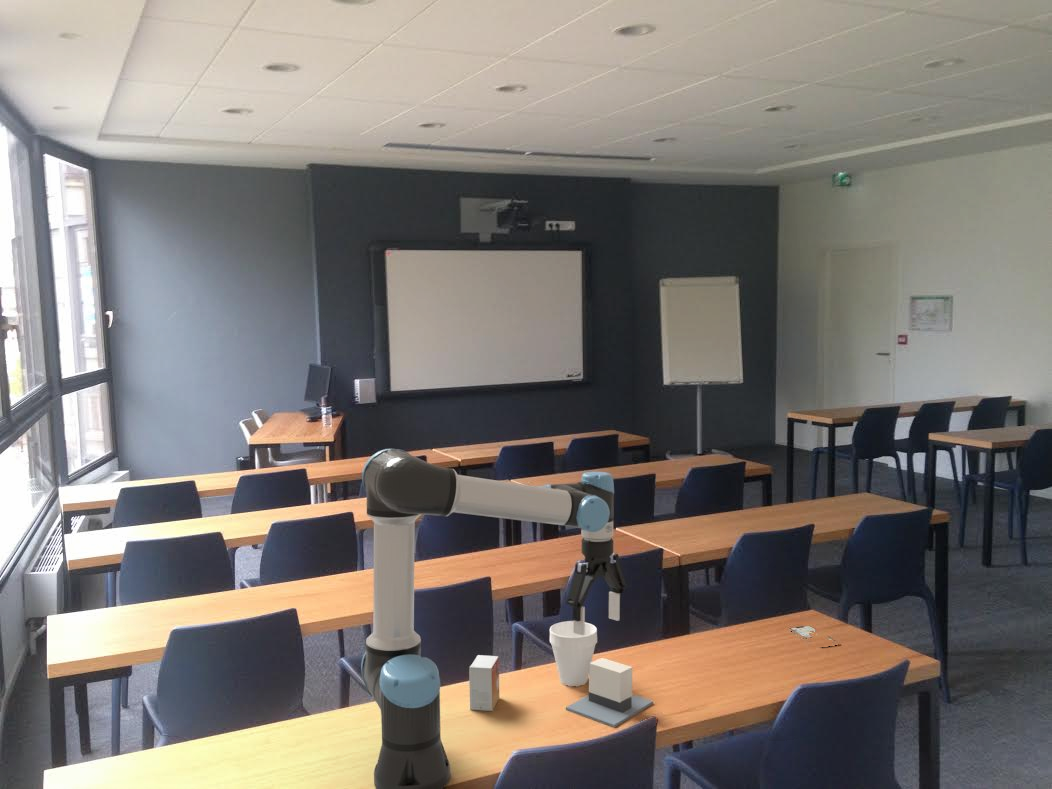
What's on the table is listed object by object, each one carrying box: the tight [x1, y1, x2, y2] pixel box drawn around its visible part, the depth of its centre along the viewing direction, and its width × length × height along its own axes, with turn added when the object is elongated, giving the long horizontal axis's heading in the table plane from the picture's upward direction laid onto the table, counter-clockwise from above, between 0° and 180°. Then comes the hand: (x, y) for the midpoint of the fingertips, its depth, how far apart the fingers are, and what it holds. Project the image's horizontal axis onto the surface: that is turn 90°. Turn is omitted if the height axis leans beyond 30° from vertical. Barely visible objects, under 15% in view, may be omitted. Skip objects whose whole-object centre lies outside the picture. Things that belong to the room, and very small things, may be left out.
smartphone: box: [789, 625, 836, 642], centre depth 241 cm, size 7×1×15 cm
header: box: [565, 690, 654, 728], centre depth 198 cm, size 16×14×7 cm
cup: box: [549, 620, 598, 687], centre depth 212 cm, size 12×12×14 cm
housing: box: [588, 657, 633, 703], centre depth 197 cm, size 5×9×7 cm, turn 48°
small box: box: [468, 654, 500, 712], centre depth 200 cm, size 8×6×10 cm
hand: (597, 626), depth 197 cm, fingers open, 13 cm apart
